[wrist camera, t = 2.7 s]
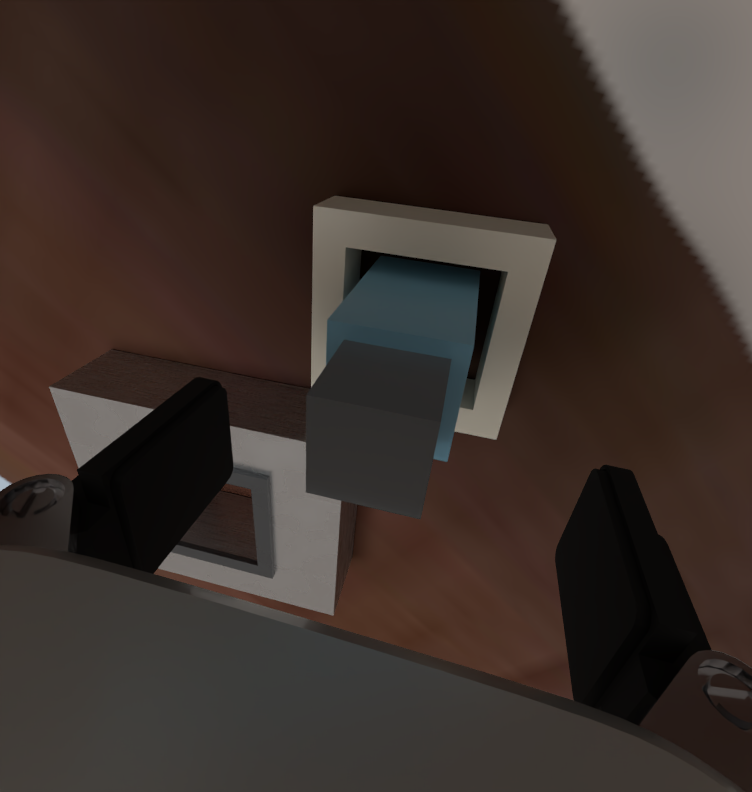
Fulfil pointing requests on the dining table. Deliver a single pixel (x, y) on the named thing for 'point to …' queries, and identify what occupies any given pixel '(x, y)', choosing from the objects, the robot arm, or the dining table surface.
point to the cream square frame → (446, 242)
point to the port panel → (252, 468)
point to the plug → (391, 384)
